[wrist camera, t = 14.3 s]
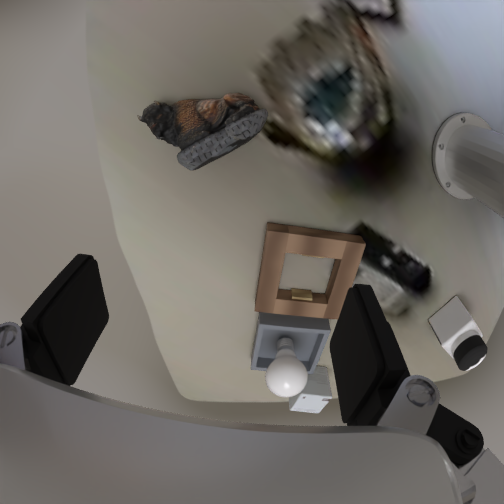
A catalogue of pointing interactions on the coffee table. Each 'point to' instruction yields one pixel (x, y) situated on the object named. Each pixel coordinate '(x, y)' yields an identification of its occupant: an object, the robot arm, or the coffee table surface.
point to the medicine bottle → (459, 334)
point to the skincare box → (313, 393)
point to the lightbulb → (286, 371)
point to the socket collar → (315, 245)
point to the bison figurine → (205, 126)
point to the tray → (298, 330)
